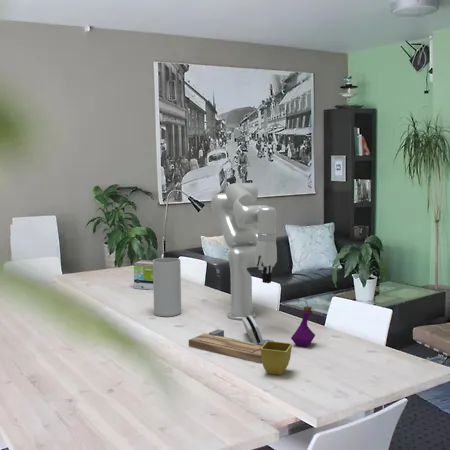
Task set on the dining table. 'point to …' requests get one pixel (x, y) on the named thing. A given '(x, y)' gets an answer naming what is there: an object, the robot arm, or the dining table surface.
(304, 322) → the perfume bottle
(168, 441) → the dining table surface
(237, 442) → the dining table surface
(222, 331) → the locator block
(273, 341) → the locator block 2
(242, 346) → the wooden plank
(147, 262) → the tea box
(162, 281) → the cylinder vase
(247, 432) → the dining table surface
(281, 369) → the flower pot
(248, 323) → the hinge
